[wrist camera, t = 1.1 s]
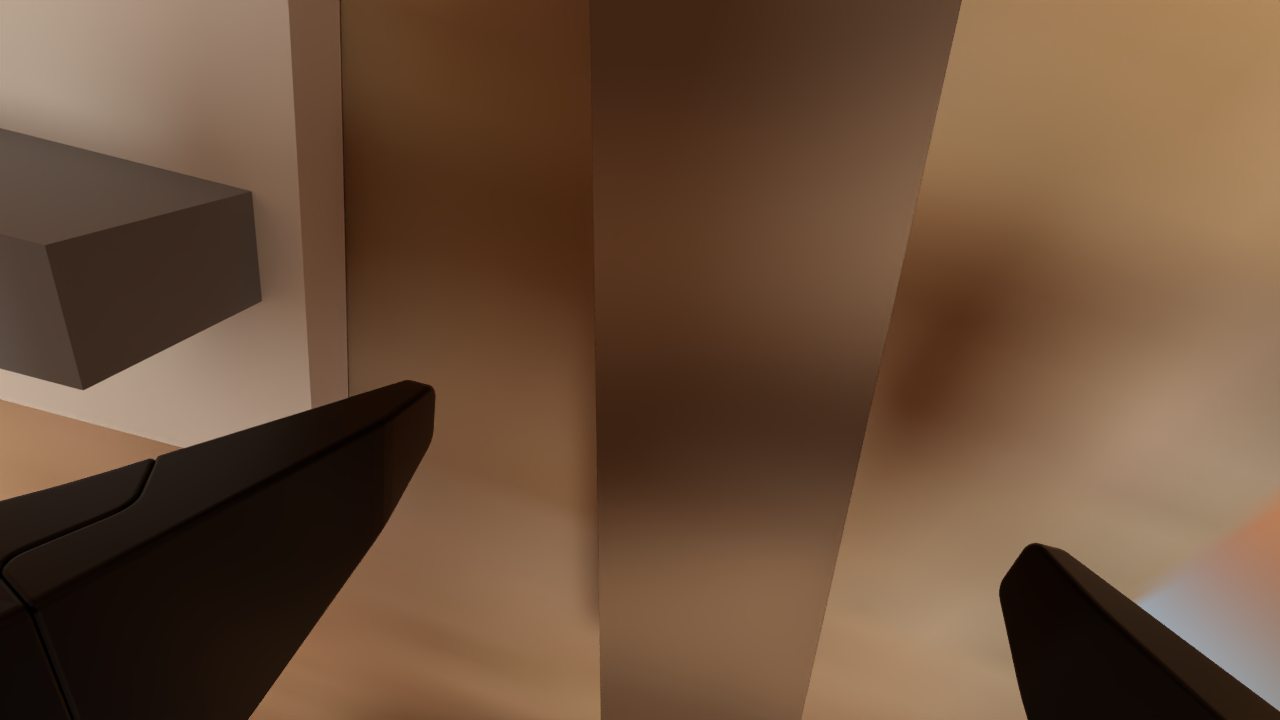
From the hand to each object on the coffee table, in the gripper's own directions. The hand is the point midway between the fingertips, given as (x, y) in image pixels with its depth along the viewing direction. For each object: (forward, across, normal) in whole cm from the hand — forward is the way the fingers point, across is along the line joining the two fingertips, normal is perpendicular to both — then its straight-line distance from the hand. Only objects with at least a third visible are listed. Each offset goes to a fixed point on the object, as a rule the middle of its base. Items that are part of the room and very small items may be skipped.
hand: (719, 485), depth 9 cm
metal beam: (+6, 0, 0) cm, 6 cm away
